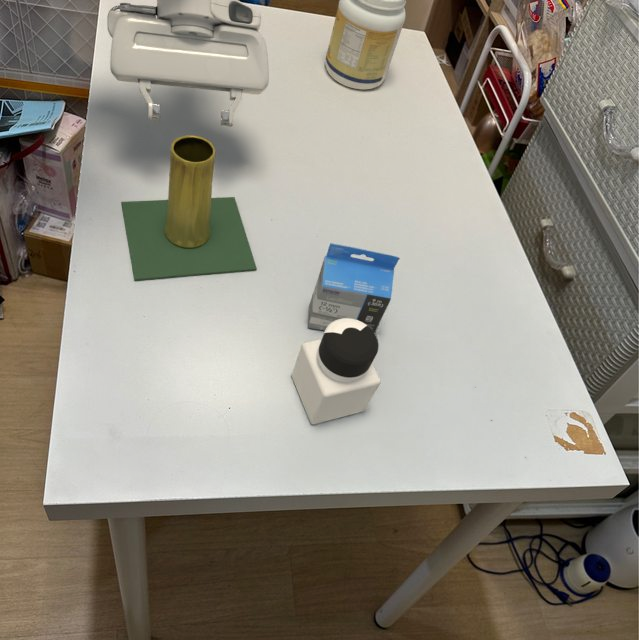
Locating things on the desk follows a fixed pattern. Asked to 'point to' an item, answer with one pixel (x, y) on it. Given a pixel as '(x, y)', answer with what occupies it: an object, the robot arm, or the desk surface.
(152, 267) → the green mat
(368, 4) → the supplement tub
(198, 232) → the vase
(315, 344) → the medicine bottle
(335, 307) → the label tape box
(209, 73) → the robot arm
